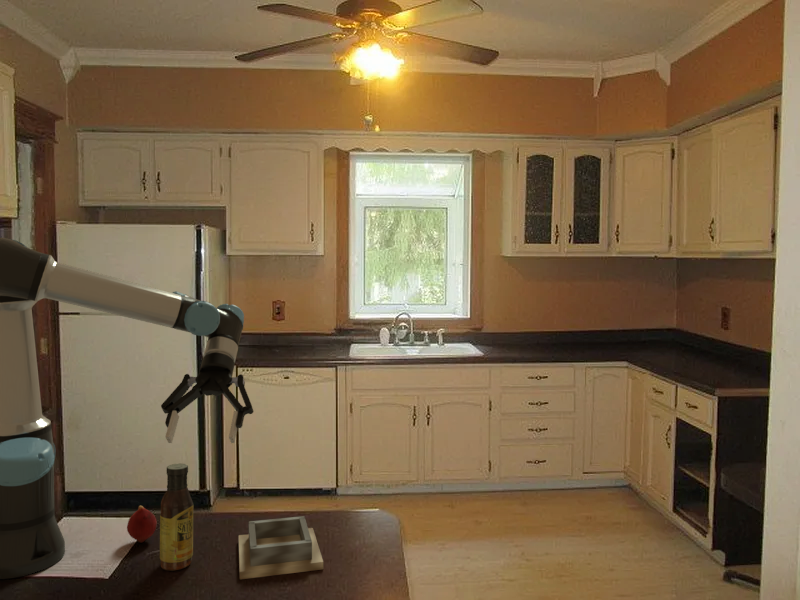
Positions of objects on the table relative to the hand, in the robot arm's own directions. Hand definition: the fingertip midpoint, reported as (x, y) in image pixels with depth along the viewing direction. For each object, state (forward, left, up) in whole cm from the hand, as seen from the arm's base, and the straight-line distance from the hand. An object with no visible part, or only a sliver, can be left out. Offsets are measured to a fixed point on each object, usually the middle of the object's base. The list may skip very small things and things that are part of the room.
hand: (200, 440), depth 131 cm
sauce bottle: (-4, -11, -22) cm, 25 cm away
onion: (-12, +1, -22) cm, 25 cm away
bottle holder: (+16, -12, -22) cm, 30 cm away
